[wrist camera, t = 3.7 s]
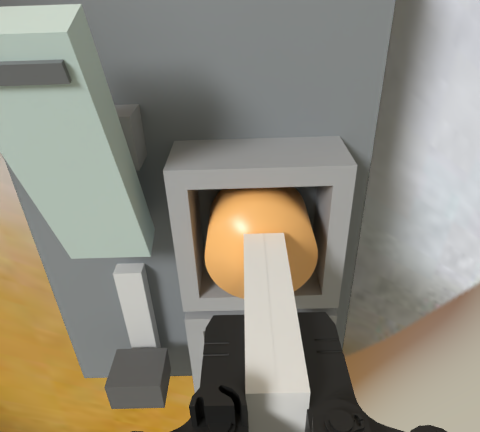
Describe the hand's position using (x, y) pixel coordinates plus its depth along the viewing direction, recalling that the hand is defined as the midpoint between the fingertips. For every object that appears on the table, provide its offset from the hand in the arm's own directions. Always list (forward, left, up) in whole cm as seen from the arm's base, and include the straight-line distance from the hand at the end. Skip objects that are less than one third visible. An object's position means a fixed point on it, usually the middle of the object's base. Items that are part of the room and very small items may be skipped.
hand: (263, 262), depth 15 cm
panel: (-3, 0, -8) cm, 9 cm away
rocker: (-7, +4, -1) cm, 8 cm away
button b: (0, 0, -3) cm, 3 cm away
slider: (-7, -9, -3) cm, 12 cm away
